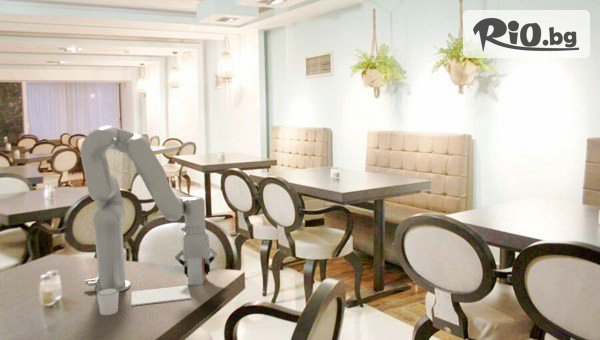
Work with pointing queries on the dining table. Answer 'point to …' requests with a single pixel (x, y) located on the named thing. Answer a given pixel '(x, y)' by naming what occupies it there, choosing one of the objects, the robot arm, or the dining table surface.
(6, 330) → the dining table surface
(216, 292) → the dining table surface
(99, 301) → the shot glass
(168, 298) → the mat
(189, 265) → the small box
